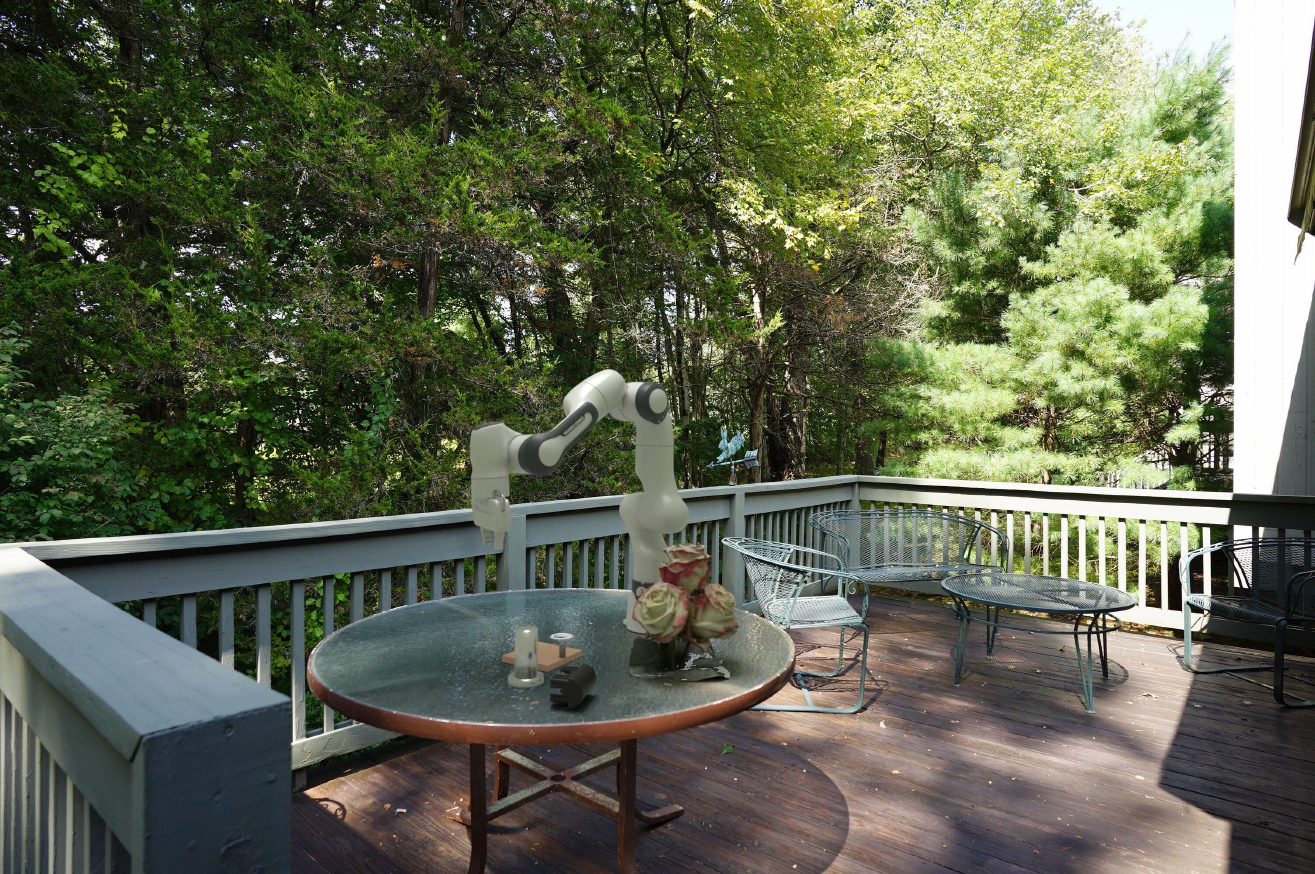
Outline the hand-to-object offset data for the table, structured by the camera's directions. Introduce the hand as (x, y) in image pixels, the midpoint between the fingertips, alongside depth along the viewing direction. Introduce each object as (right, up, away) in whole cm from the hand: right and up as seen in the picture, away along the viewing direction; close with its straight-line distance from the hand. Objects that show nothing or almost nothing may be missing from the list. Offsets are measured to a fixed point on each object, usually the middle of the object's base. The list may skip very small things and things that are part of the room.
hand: (493, 547), depth 171 cm
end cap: (+22, -29, -21) cm, 42 cm away
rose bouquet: (+46, -30, +3) cm, 55 cm away
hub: (+10, -29, -10) cm, 32 cm away
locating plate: (+11, -29, +7) cm, 31 cm away
